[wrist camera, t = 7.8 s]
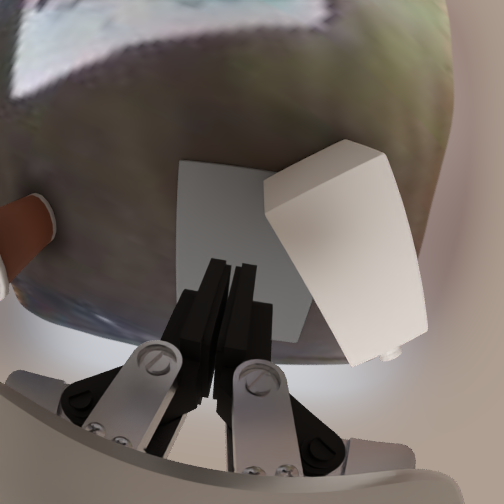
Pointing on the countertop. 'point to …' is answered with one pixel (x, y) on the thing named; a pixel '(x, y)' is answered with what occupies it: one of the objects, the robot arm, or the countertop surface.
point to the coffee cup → (23, 235)
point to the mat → (236, 239)
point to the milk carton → (351, 247)
